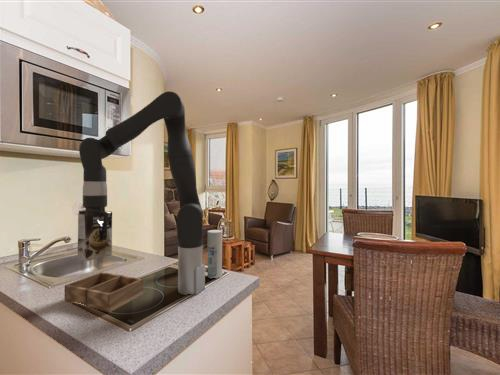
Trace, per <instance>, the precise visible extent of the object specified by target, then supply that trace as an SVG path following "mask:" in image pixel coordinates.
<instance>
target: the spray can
mask: <svg viewBox="0 0 500 375" xmlns="http://www.w3.org/2000/svg"><path fill="white" fill-rule="evenodd" d="M222 266H223V230H222V229H211V230H207V277H208V278H209V279H212V278H216V279H219V278H218V277H220V278H222V276H223V267H222Z"/></svg>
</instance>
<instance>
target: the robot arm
mask: <svg viewBox="0 0 500 375" xmlns="http://www.w3.org/2000/svg"><path fill="white" fill-rule="evenodd" d="M185 112H186V111H185V105H184V102H183V100H182V98H181V96H180V95H179V94H178V93H176V92H175V91H165V92H162V93H161V94H159V95H158V96H157V97H155V98H154V99H153V100H152V101H151V102H150V103H149V104H147V105H146V106H144V107H143V108H142V109H141V110H138V111H137V112H136V113H134V114H133V115H131V116H130V117H128V118H126V119H124V120H123V121H121V122H119V123H117V124H115V125H114V126H112V127H110V128H108V129H107V130H106V131H105V135H104V136H103V137H101V138H99V139H97V138H95V137H94V138H93V137H86V138H84V139H83V140H82V141H81V142H80V144H79V148H78V149H79V157H80V161H81V165H82V168H83V184H82V207H83V208H85V209H83V210H79V211H78V214H82V213H93V214H94V213H97V214H99V218H101V216H102V215H103V217H104V221H101V222H100V221H99V220H97V225H98V226H99V229H100V241H103V240H106V239H107V229H109V228H111V227H112V228H113V211H106V207H108V185H107V169H106V167H105V166H104V165H103V161H102V160H103V159H105V158H107V157H109V156H111V155H112V154H113V153H114V152H116V151H117V150H118V149H119V148H120V147H122V146H124V145H126V144H127V143H129V142H131V141H133V140H134V139H136V138H137V137H140V135H141V134H143V132H144V131H146V130H147V129H148V128H149V127H150V126H152V125H153V124H155V123H156V122H158V121H160V120H163V121H164V125H165V129H166V132H167V159H168V166H169V169H170V170H169V171H170V174H171V177H172V180H173V183H174V185H175V187H176V190H177V195H178V201H179V210H178V212H177V215H176V232H177V234H176V235H177V236H176V238H177V246H178V247H177V251H178V252H177V292H178V293H179V294H181V295H184V296H186V295H187V294H191V295H198V294H199V293H201V292H202V291H203V290H204V289H206V288H205V287H206V273H205V272H206V264H205V263H204V262H203V260H204V257H203V256H204V255H203V254H204V253H203V252H204V250H203V249H204V247H203V246H204V236H203V231H204V230H203V221H204V220H203V218H204V212H203V211H204V210H203V208H202V205H201V201H200V198H199V195H198V191H197V190H198V189H197V177H196V169H195V167H196V166H195V162H194V155H193V152H192V147H191V146H192V145H191V144H190V140H189V137H188V133H187V132H188V131H187V126H186V125H187V124H186V113H185ZM107 222H108V225H107ZM102 224H103V226H102Z"/></svg>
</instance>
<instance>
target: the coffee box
mask: <svg viewBox="0 0 500 375" xmlns="http://www.w3.org/2000/svg"><path fill="white" fill-rule="evenodd" d="M77 216H78V217H77V224H78V225H77V259H78V260H82V261H85V262H89V261H93V260H96V259H100V258H106V257H109V256H110V257H111V256H112V255H113V226H112V227H111V228H109V229H107V239H106V240H103V241H100V229H99V226H98V225H97V220H99V221H100V222H101V221H104V217H103V215H102V216H101V218H99V214H97V213H94V214H93V213H82V214H79V213H78V214H77ZM107 225H108V222H107ZM102 226H103V224H102Z"/></svg>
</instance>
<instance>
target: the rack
mask: <svg viewBox="0 0 500 375" xmlns="http://www.w3.org/2000/svg"><path fill="white" fill-rule="evenodd" d="M143 294H144V278H138V277H135V276H126V275H121V274H116V273H110V272H104V271H99V272H97V273H95V274H92V275H89V276H86V277H84V278H81V279H78V280H76V281H73V282H70V283H68V284H67V283H66V284H65V285H64V302H66V303H69V304H73V302H77V303H81V304H84V305H86V306H89V307H88V308H90V307H93V308H92V309H94V308H96V309H95V310H98V309H99V311H103V312H106V313H112V312H113V311H115V310H117V309H118V308H120V307H122V306H124V305H126V304H128V303H129V302H132V301H133V300H134V299H137V298H139V297H140V296H142V295H143ZM86 306H85V307H86Z"/></svg>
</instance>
